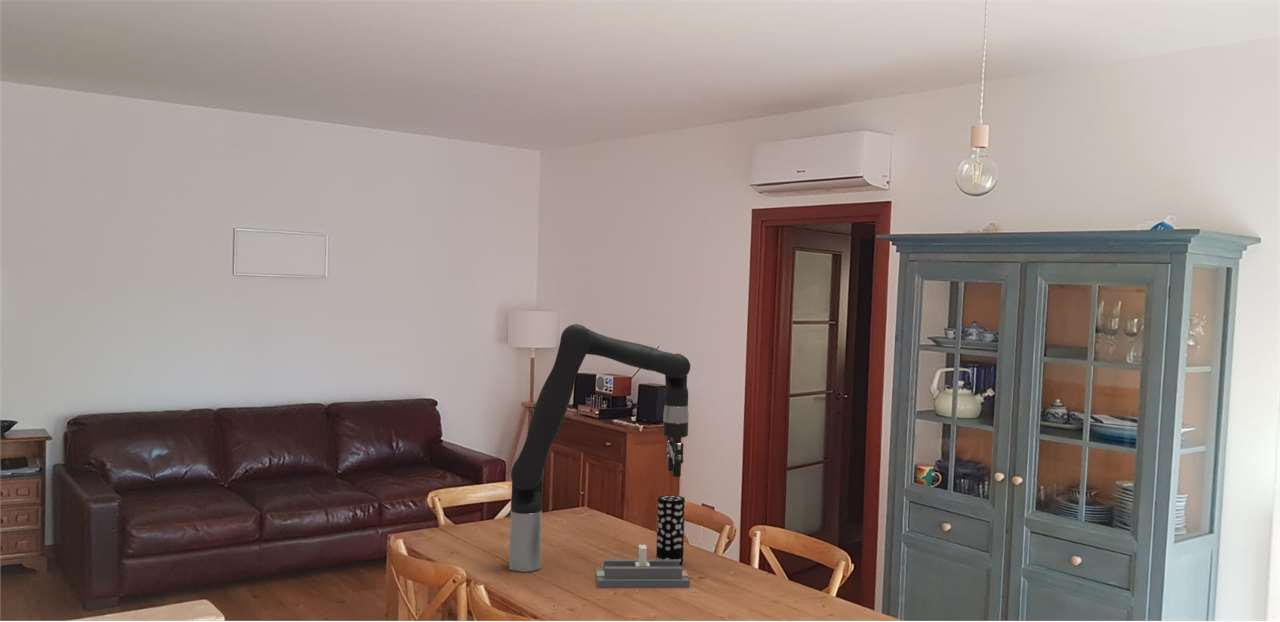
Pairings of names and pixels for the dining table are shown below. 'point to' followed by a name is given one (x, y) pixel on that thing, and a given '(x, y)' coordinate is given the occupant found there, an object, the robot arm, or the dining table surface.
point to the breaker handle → (642, 556)
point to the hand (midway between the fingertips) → (674, 473)
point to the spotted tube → (670, 527)
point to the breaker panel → (642, 574)
